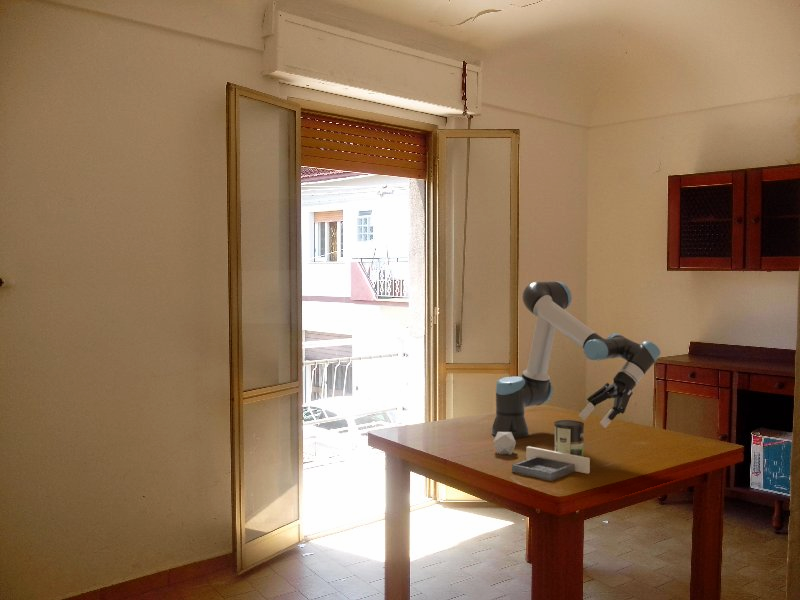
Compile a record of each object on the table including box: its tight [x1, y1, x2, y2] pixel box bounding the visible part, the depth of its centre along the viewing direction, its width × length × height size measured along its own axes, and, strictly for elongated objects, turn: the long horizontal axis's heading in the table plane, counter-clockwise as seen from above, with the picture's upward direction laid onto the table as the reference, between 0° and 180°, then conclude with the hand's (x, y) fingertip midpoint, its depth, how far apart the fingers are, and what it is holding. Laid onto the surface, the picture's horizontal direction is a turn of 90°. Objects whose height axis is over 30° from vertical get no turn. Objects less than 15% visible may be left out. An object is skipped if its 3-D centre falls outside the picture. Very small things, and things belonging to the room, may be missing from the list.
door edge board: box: [525, 445, 591, 474], centre depth 246 cm, size 24×2×5 cm, turn 47°
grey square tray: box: [511, 456, 576, 482], centre depth 240 cm, size 15×15×2 cm
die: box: [492, 432, 517, 455], centre depth 264 cm, size 8×9×10 cm
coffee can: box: [553, 419, 585, 457], centre depth 252 cm, size 10×10×14 cm
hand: (591, 421), depth 253 cm, fingers open, 13 cm apart
